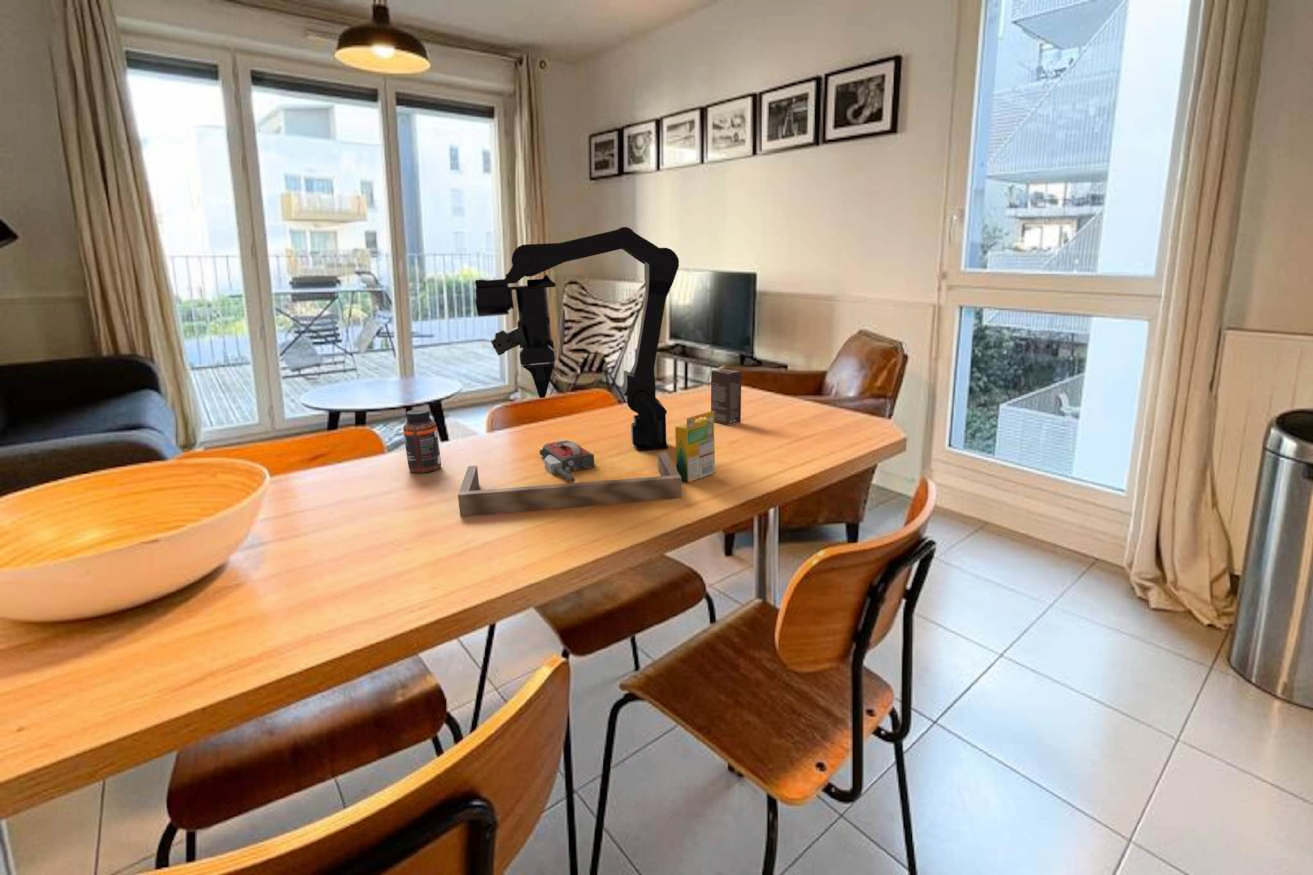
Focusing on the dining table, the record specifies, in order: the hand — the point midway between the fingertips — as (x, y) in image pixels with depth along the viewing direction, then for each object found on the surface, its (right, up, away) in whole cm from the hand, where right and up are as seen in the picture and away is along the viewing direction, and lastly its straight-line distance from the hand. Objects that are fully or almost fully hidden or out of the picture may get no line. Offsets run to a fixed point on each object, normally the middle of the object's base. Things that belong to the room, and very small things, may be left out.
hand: (542, 392), depth 132 cm
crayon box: (+29, -16, -13) cm, 36 cm away
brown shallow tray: (+8, -18, -18) cm, 26 cm away
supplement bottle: (-21, -15, -5) cm, 27 cm away
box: (+39, -5, +24) cm, 46 cm away
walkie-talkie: (+6, -15, -6) cm, 17 cm away
